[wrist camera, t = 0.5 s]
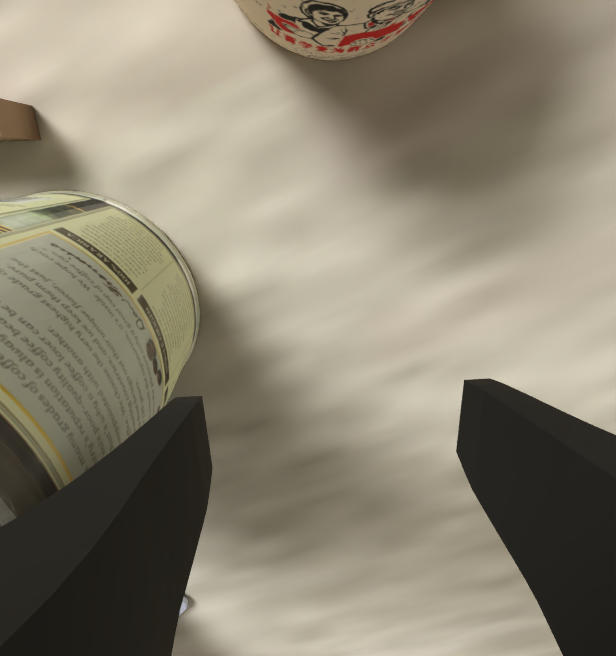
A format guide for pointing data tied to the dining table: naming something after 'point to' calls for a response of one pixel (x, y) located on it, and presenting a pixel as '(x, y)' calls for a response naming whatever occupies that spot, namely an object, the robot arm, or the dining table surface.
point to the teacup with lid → (333, 24)
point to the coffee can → (82, 336)
